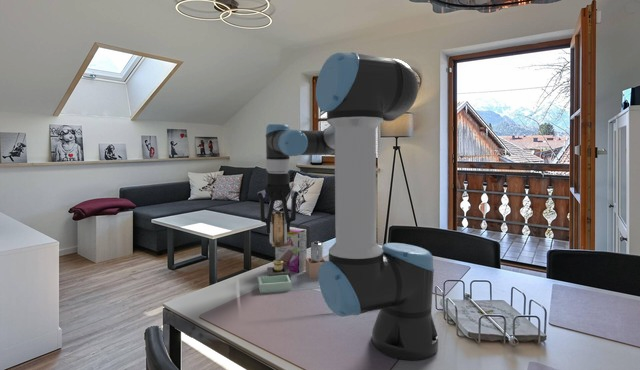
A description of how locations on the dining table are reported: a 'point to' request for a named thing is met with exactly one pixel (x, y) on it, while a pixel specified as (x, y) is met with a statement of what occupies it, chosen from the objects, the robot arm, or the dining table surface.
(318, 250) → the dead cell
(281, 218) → the copper cell
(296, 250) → the candy bar box
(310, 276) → the battery sorting tray
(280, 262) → the brass short cylinder
